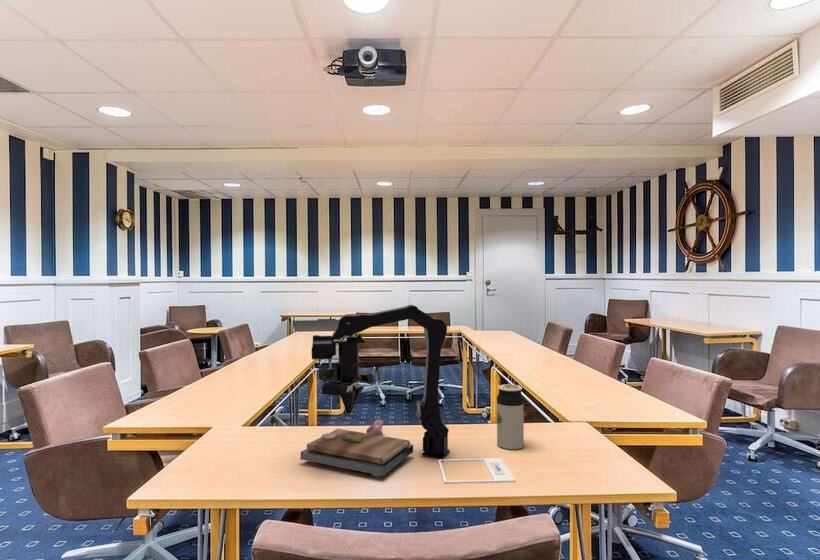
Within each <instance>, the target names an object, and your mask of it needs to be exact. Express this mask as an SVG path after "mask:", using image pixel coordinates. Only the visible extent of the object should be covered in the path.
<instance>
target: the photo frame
mask: <svg viewBox="0 0 820 560" xmlns="http://www.w3.org/2000/svg"><path fill="white" fill-rule="evenodd" d="M437 462H438V467H439V470H440V474H441V478H442V481H444V482H443V484H444V485H458V483H470V484H498V483H499V484H503V482H504V483H505V482H508V483H517V481H516V478H515V477H514V476H513V474H512V473H511V471H510V469H509V467H508V466H507V464H506V463H505V461H504V460H503V458H502V457H501V458H500V457H497V458H496V457H495V458H493V457H491V458H488V457H487V458H460V459H459V458H454V459H451V458H449V459H446V458H445V459H444V458H443V459H437ZM442 462H444V463H462V462H463V463H464V462H465V463H466V462H471V463H472V462H483V463H484V465H485V467H486V469H487V471H488V473H489V474H490V477H491V478H492V479H478V480H477V479H472V480H470V479H469V480H447V478H446V475H445V471H444V467H443V463H442ZM494 482H495V483H494ZM501 482H502V483H501ZM450 483H451V484H450Z"/></svg>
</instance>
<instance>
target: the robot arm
mask: <svg viewBox="0 0 820 560" xmlns="http://www.w3.org/2000/svg"><path fill="white" fill-rule="evenodd" d="M405 320H411V321H412V322H415V323H416V324H418V325H419V326H421V327H422V328H423V334H424V340H425V341H424V342H425V345H426V354H425V355H426V358H425V370H424V372H425V373H424V386H423V396H422V399H421V401H420V400H416V407H417V409H416V412H415V416H416V417H417V419H418V421H419V422H420V425H421V426H422V429H424V430H425V432H423V437H422V453H421V456H423V457H428V458H435V459H438V460H444V458H445V457H446V456H447V455H449V453H451V450H450V449H448V448H449V437H448V436H449V435H448V434H449V428H448V427H447V425H446V424H445V422H444V421H443V420H442V418H441V417H442V416H441V410H440V403H439V397H438V395H439V383H440V370H441V369H440V366H441V353H442V348H443V346H444V343H445V341H446V337H447V333H448V326H447V324H446V323H445V321H444V320H442V319H441V318H438V317H431V316H430V315H429V314H427V313H425V312H424V311H422V310H420V309H419V307H417V306H416V305H413V304H408V305H406V306H402V307H396V308H391V309H386V310H381V311H377V312H373V313H372V312H371V313H347V314H344V315H342V316H341V317H340V318H339V320H338V323H337V324H338V325H337V326H338V327H337V328H336V329H335V331H332V332H333V333H332V335H318V334H316V335H313V336H312V345H311V346H312V347H311V360H313V361H314V360H315V361H316V360H332V359H333V357H335V356H337V352H338V361H337V362H335V364H334V367H333V368H331V369H329V368H327V367H323V368H320V369H318V379H319V380H320V381H322V383H323V384H322V385H321V388H320V389H321V390H320V392H321V395H326V396H327V395H328V396H340V399H341V401H342V404H343V406H344V410H345V411H346V414H348V415H349V414H352V412H353V411H354V408H355V406H356V403H357V401H358V399H359V397H360V395H361V393H362V391H363V390H364V387H363V386H361V385H360V383H362V382H364V383H366V384H367V385H371V384H374V382H375V381H374V380H375V379H374V378H375V377H374V374H372V373H371V372H364V371H363V372H362V371H360V370H359V369H360V368H359V367H360V366H362V364H363V363H362V361H360V359H359V358H360V356H359V355H360V354H359V349H360V348H359V347H360V345H359V344H364V343H366V340H365V338H363V337H362V335H361V334H360V333H361V332H363V331H365V330H367V329H370V328H372V327H376V326H377V327H378V326H381V325H386V324H392V323H398V322H403V321H405ZM356 334H357V335H356ZM354 335H356V336H354ZM344 337H346V339H342V338H344ZM341 339H342V340H341ZM337 344H338V345H337ZM337 346H338V351H337Z"/></svg>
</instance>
